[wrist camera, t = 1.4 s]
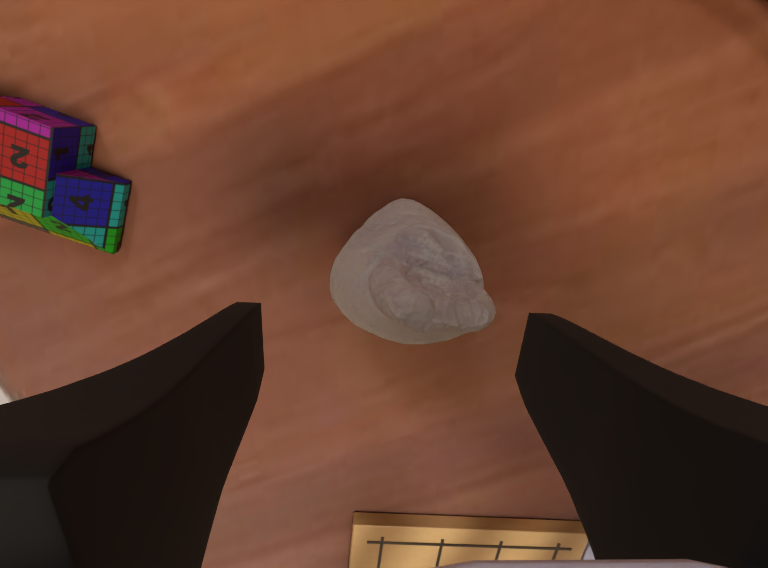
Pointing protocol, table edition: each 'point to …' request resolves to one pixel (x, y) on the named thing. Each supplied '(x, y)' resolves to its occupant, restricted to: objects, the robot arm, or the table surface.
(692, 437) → the robot arm
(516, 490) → the table surface
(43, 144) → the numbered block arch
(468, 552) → the grid board
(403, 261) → the fossil
